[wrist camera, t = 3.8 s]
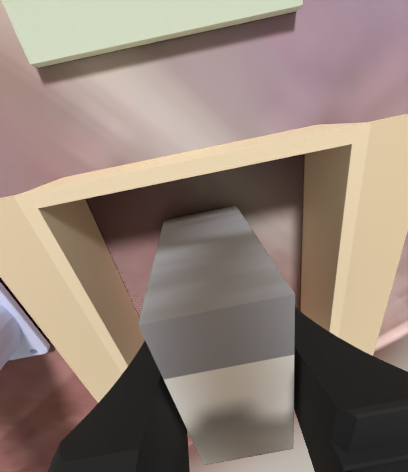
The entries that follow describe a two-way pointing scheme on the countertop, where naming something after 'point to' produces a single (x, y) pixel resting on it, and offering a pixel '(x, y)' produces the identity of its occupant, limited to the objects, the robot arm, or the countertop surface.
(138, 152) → the countertop surface
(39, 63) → the mat
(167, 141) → the countertop surface
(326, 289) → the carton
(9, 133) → the countertop surface
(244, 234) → the box
